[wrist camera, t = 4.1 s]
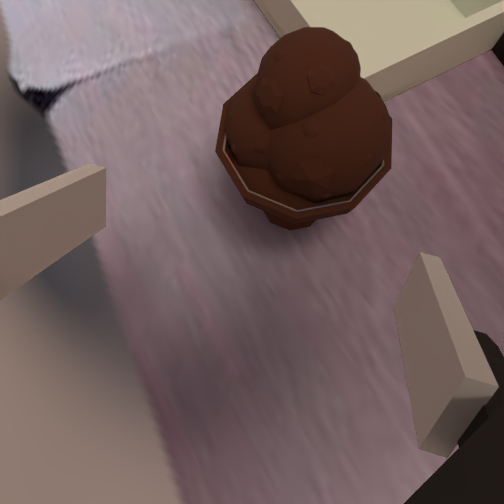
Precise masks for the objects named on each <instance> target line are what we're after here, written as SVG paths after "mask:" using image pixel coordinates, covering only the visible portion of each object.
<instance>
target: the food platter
mask: <svg viewBox="0 0 504 504" xmlns="http://www.w3.org/2000/svg"><path fill="white" fill-rule="evenodd" d="M492 51H493V52H494V54H495V55H496V56H497V58H498V59H499V60H500V62H501V63H502V64H503V66H504V33H503V34H502V35H501V37H500V38H499V40H498V41H497V42H496V44H495V45H494V47H493V48H492Z"/></svg>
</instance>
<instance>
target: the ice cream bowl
mask: <svg viewBox="0 0 504 504" xmlns="http://www.w3.org/2000/svg"><path fill="white" fill-rule="evenodd" d="M360 72H361V67H360V62H359V58H358V54H357V53H356V51H355V50H354V49H353V47H352V45H351V43H350V42H348V41H347V40H344V39H343V38H342V37H340V36H339V35H338V34H337V33H335V32H334V31H332V30H329V29H327V28H324V27H304V28H301V29H298V30H296V31H293V32H291V33H288V34H285V35H284V36H283V37H281V38H280V39H279V40H278V41H277V42H276V43H275V44H274V45H273V46H271V47H270V48H269V50H268V51H267V52H266V54H265V55H264V56H263V58H262V60H261V64H260V67H259V71H258V73H257V74H256V75H255V76H254V77H253V78H252V79H251V80H250V81H248V82H247V83H246V84H245V85H244V86H243V87H242V88H241V89H240V90H239V91H237V92H236V93H235V94H234V95H233V96H232V97H231V98H230V99H229V100H227V101H226V102H225V103H224V104H223V110H222V116H221V121H220V127H219V133H218V139H217V145H216V151H215V152H216V153H217V155H218V157H219V158H220V160H221V162H222V163H223V165H224V167H225V168H226V170H227V172H228V173H229V175H230V177H231V178H232V180H233V182H234V183H235V185H236V187H237V188H238V190H239V192H240V193H241V195H242V196H243V198H244V200H245V201H246V203H247V204H250V205H252V206H254V207H257V208H259V209H262V210H263V211H264V212H265V214H266V215H267V217H268V219H269V220H270V222H272V223H274V224H276V225H279V226H281V227H283V228H286V229H288V230H293V229H298V228H303V227H308V226H311V224H312V223H313V222H314V221H315V220H316V219H321V218H326V217H331V216H336V215H342V214H347V213H348V212H350V211H351V210H352V209H354V208H355V207H356V206H357V205H358V204H359V203H360V202H361V200H362V199H363V198H364V197H365V196H366V195H367V194H368V193H369V192H370V191H371V190H372V189H373V187H374V186H375V185H376V184H377V183H378V182H379V181H380V180H381V179H382V178H383V177H384V176H385V174H386V173H387V172H388V171H389V170H390V169H391V150H392V118H391V117H390V116H389V113H388V111H387V108H386V106H385V104H384V102H383V100H382V98H381V96H380V94H379V93H378V92H376V91H374V89H373V88H372V87H371V85H370V84H369V83H368V81H367V80H365V79H363V78H362V77H360Z"/></svg>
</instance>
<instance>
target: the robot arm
mask: <svg viewBox="0 0 504 504" xmlns="http://www.w3.org/2000/svg"><path fill="white" fill-rule="evenodd" d="M105 226H106V168H105V167H102V166H98V165H94V164H90V163H89V164H87V165H84V166H82V167H79V168H77V169H74V170H72V171H70V172H67V173H65V174H62V175H61V176H58V177H55V178H53V179H50V180H48V181H46V182H43V183H41V184H38V185H36V186H33V187H31V188H29V189H26V190H24V191H21V192H19V193H17V194H14V195H12V196H9V197H7V198H5V199H2V200H0V300H1V299H3V298H4V297H5V296H7V295H8V294H10V293H11V292H13V291H14V290H15V289H17V288H18V287H20V286H21V285H22V284H24V283H25V282H27V281H28V280H30V279H31V278H32V277H34V276H35V275H37V274H38V273H40V272H41V271H42V270H44V269H45V268H47V267H48V266H50V265H51V264H52V263H54V262H55V261H57V260H58V259H60V258H61V257H62V256H64V255H65V254H66V253H68V252H69V251H71V250H72V249H74V248H75V247H77V246H78V245H80V244H81V243H82V242H84V241H85V240H87V239H88V238H89V237H91V236H92V235H94V234H95V233H97V232H98V231H100V230H101V229H102V228H104V227H105ZM394 313H395V318H396V324H397V329H398V335H399V340H400V346H401V352H402V357H403V363H404V368H405V374H406V379H407V385H408V391H409V396H410V402H411V407H412V413H413V419H414V424H415V430H416V435H417V441H418V446H419V449H422V450H425V451H428V452H431V453H434V454H437V455H440V456H443V457H447V458H448V457H449V455H450V454H451V452H452V451H453V450H454V448H455V447H456V446H457V444H458V445H459V449H458V450H457V451H456V452H455V453H454V454H453V455H452V456H451V457H450V458H449V459H448V460H447V461H446V462H445V463H444V464H443V465H442V466H441V467H440V468H439V469H438V470H437V471H436V472H435V473H434V474H433V475H432V476H431V477H430V478H429V479H428V480H427V481H426V482H425V483H424V484H423V485H422V486H421V487H420V488H419V489H418V490H417V491H416V492H415V493H414V494H413V495H412V496H411V497H410V498H409V499H408V500H407V501H406V502H405V503H404V504H504V357H503V355H502V353H501V351H500V349H499V347H498V346H497V345H496V344H495V343H494V342H493V341H492V340H491V339H490V338H489V337H488V336H487V334H484V333H481V332H477V331H474V330H473V329H472V326H471V324H470V322H469V320H468V318H467V316H466V313H465V311H464V309H463V307H462V305H461V302H460V300H459V298H458V296H457V294H456V291H455V289H454V287H453V285H452V283H451V280H450V278H449V276H448V274H447V272H446V269H445V267H444V265H443V263H442V261H441V258H440V257H437V256H433V255H429V254H426V253H422V252H420V253H419V255H418V257H417V259H416V262H415V264H414V266H413V268H412V270H411V272H410V274H409V277H408V279H407V281H406V283H405V285H404V287H403V289H402V292H401V294H400V296H399V298H398V300H397V302H396V305H395V307H394Z"/></svg>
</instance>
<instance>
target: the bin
mask: <svg viewBox="0 0 504 504" xmlns="http://www.w3.org/2000/svg"><path fill="white" fill-rule="evenodd" d="M254 2H255V3H256V4H257V6H258V7H259V9H260V10H261V11H262V13H263V14H264V16H265V17H266V19H267V20H268V21H269V23H270V24H271V26H272V27H273V28H274V30H275V31H276V33H277V34H278V36H279V37H280V38H281V37H283V36H284V35H285V34H288V33H291V32H293V31H296V30H298V29H301V28H304V27H324V28H327V29H329V30H332V31H334V32H335V33H337V34H338V35H339V36H340V37H342V38H343V39H344V40H347V41H348V42H350V43H351V45H352V47H353V49H354V50H355V51H356V53H357V54H358V58H359V62H360V67H361V72H360V77H362V78H363V79H365V80H367V81H368V83H369V84H370V85H371V87H372V88H373V89H374V91H376V92H378V93H379V94H380V96H381V98H382V100H383V102H384V101H386V100H388V99H390V98H392V97H394V96H396V95H398V94H400V93H402V92H404V91H406V90H409V89H411V88H413V87H415V86H417V85H419V84H421V83H423V82H425V81H427V80H429V79H431V78H433V77H435V76H437V75H439V74H441V73H443V72H446V71H448V70H450V69H452V68H454V67H456V66H458V65H460V64H462V63H464V62H466V61H468V60H470V59H472V58H474V57H476V56H478V55H480V54H482V53H485V52H487V51H489V50H491V49H492V48H493V47H494V45H495V44H496V42H497V41H498V40H499V38H500V37H501V35H502V34H503V33H504V0H254Z"/></svg>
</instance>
